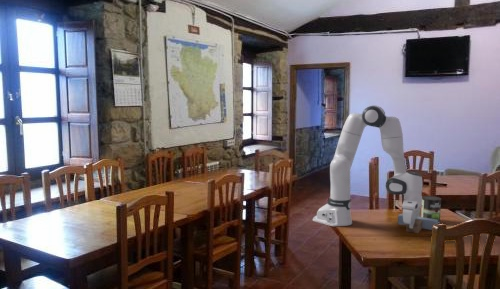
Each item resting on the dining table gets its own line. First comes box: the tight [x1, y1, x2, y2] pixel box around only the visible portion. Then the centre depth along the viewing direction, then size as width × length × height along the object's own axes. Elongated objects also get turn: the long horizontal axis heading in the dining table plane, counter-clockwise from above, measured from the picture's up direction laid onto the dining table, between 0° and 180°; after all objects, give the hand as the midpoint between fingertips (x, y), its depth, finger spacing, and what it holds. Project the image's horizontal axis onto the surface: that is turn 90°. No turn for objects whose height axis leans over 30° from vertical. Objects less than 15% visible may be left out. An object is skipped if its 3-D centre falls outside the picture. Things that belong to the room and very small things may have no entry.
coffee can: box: [420, 195, 442, 224], centre depth 231 cm, size 10×10×14 cm
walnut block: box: [405, 219, 423, 234], centre depth 216 cm, size 6×10×4 cm, turn 144°
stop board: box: [397, 213, 438, 231], centre depth 222 cm, size 20×4×5 cm, turn 54°
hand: (411, 227), depth 211 cm, fingers closed
